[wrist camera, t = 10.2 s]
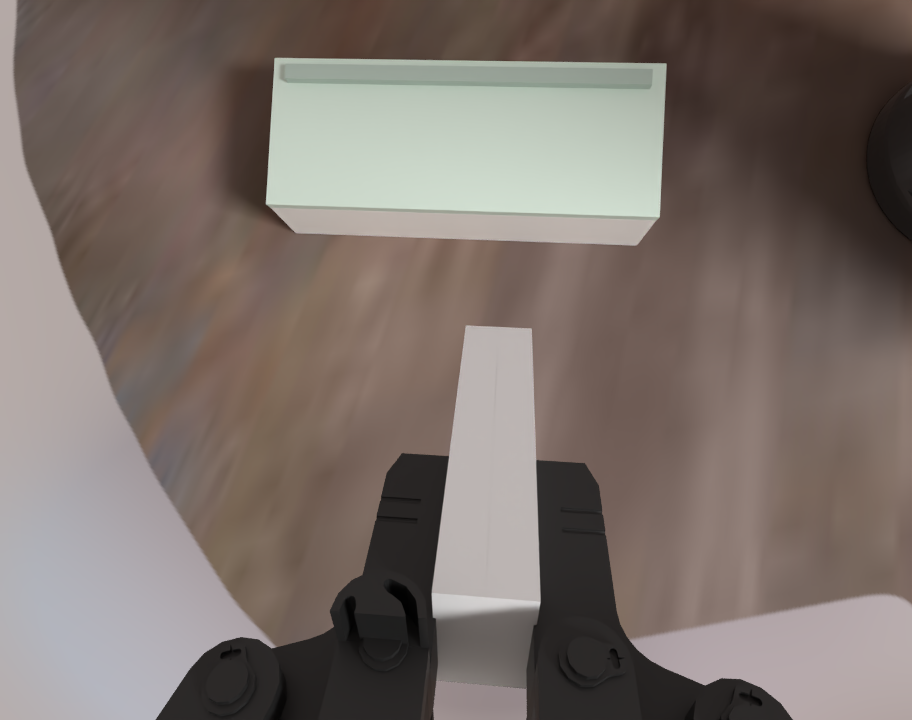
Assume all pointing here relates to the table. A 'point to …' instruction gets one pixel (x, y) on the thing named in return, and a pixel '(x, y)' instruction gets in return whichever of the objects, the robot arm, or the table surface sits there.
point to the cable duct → (465, 226)
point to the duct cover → (468, 137)
